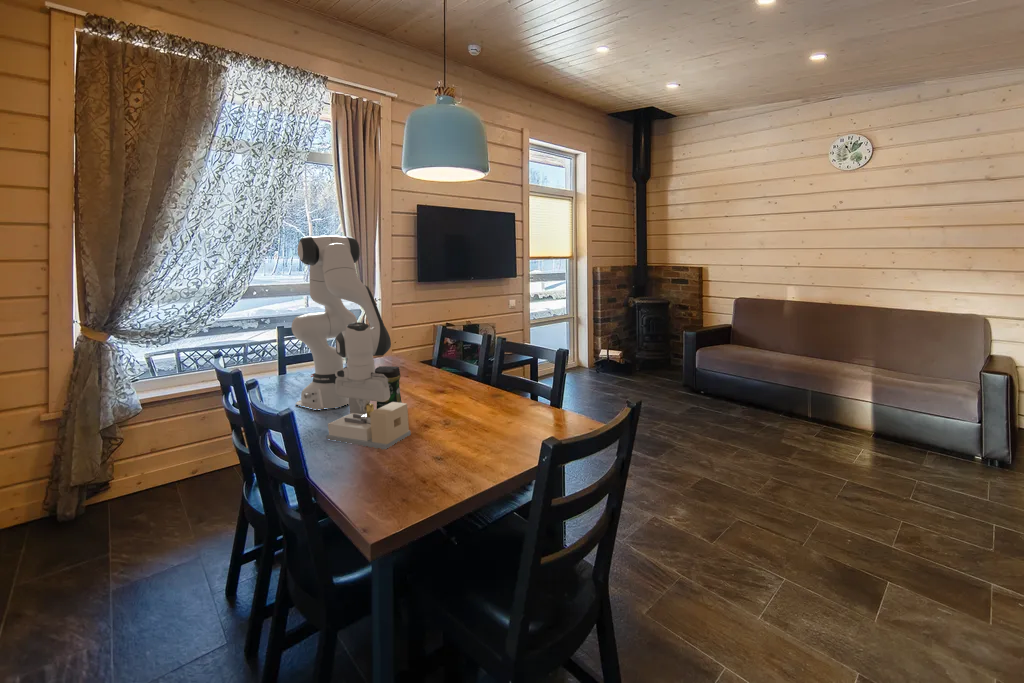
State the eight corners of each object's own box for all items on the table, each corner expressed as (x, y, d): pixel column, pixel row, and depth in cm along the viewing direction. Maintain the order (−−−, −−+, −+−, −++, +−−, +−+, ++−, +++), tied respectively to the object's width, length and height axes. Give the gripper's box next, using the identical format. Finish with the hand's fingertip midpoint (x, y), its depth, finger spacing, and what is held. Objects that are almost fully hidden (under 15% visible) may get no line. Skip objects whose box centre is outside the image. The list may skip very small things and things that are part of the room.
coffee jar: (374, 415, 191) (370, 368, 187) (381, 408, 198) (378, 364, 195) (398, 415, 189) (395, 369, 186) (404, 409, 197) (402, 364, 194)
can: (349, 415, 190) (347, 385, 188) (369, 413, 193) (367, 383, 191) (350, 421, 184) (348, 390, 181) (371, 418, 186) (369, 388, 184)
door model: (327, 440, 166) (324, 407, 163) (355, 426, 178) (352, 396, 176) (385, 449, 156) (383, 415, 154) (410, 434, 169) (408, 402, 167)
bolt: (360, 421, 166) (359, 404, 165) (366, 419, 168) (365, 402, 167) (385, 425, 162) (384, 408, 161) (390, 422, 165) (389, 405, 163)
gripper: (392, 372, 162) (395, 411, 165) (344, 367, 170) (347, 405, 173) (380, 376, 157) (383, 417, 159) (330, 371, 164) (334, 410, 167)
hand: (364, 411), depth 166 cm, fingers closed
